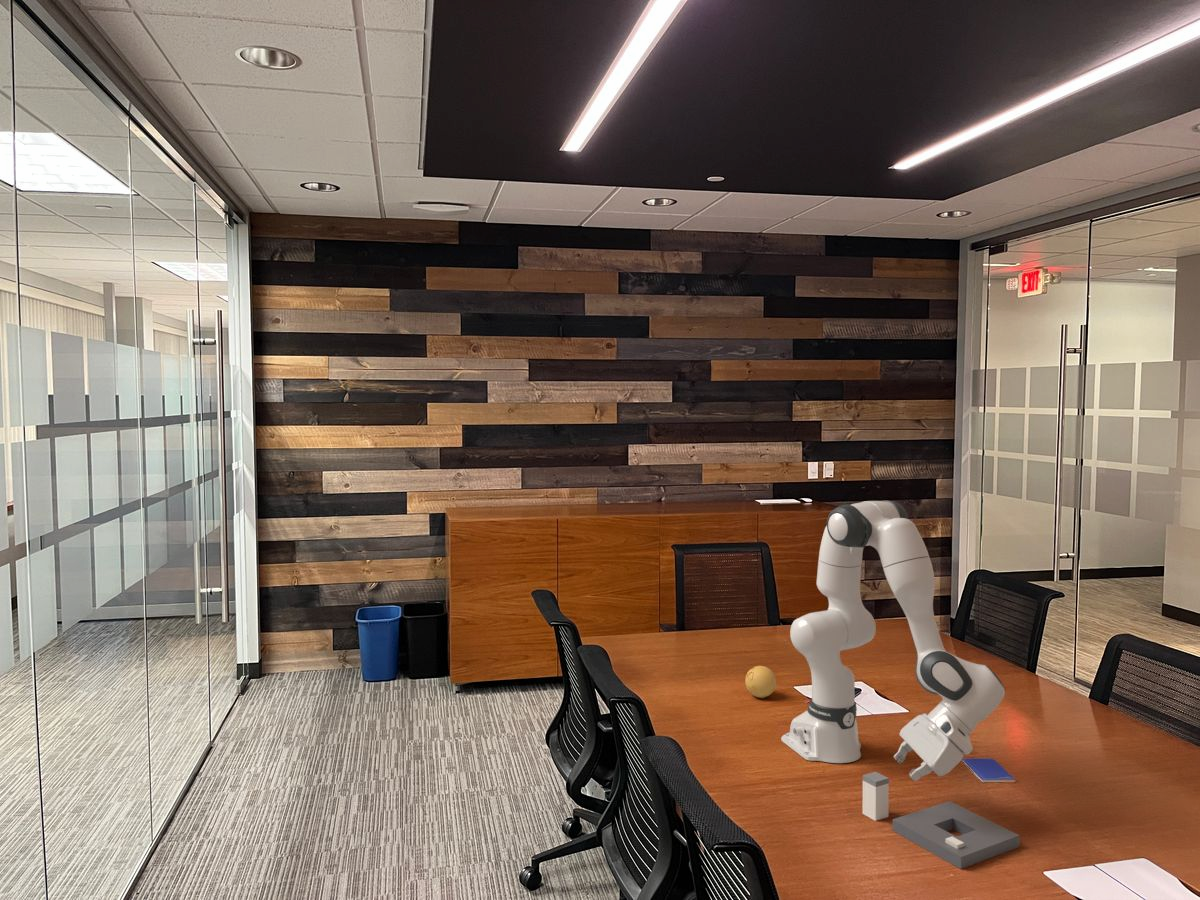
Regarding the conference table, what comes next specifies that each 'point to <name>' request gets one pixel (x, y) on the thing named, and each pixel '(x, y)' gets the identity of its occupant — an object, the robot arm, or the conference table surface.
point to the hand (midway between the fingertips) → (904, 769)
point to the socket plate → (962, 850)
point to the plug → (875, 796)
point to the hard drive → (988, 770)
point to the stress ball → (760, 681)
